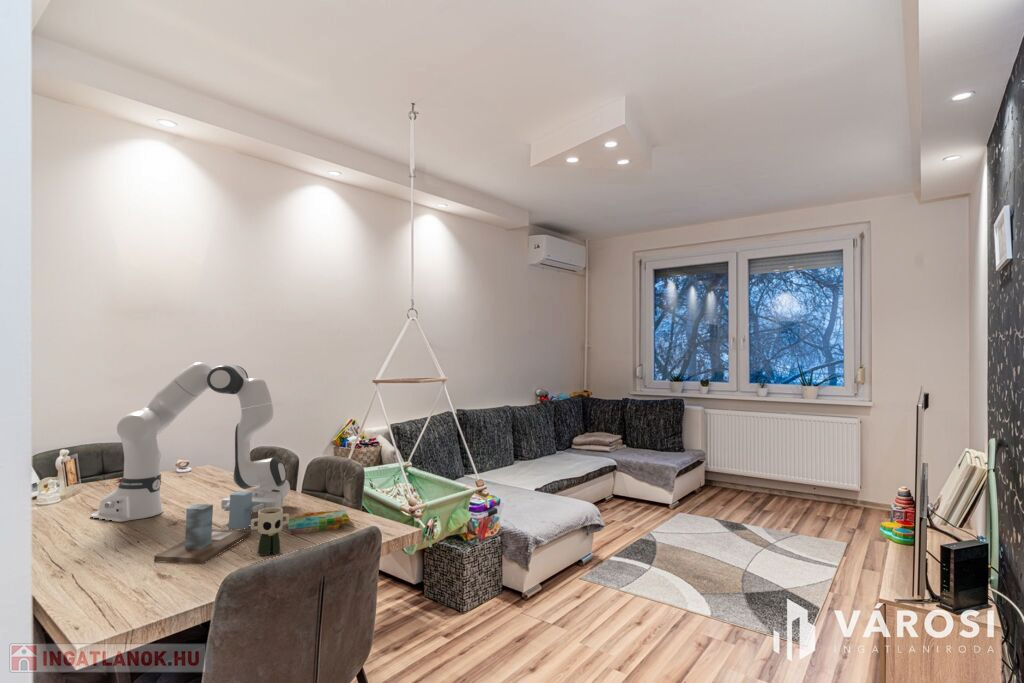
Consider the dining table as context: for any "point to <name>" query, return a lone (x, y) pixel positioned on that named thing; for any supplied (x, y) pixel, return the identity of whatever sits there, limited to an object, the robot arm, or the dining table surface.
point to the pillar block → (240, 510)
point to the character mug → (269, 529)
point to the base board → (204, 552)
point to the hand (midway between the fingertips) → (239, 509)
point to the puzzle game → (317, 521)
